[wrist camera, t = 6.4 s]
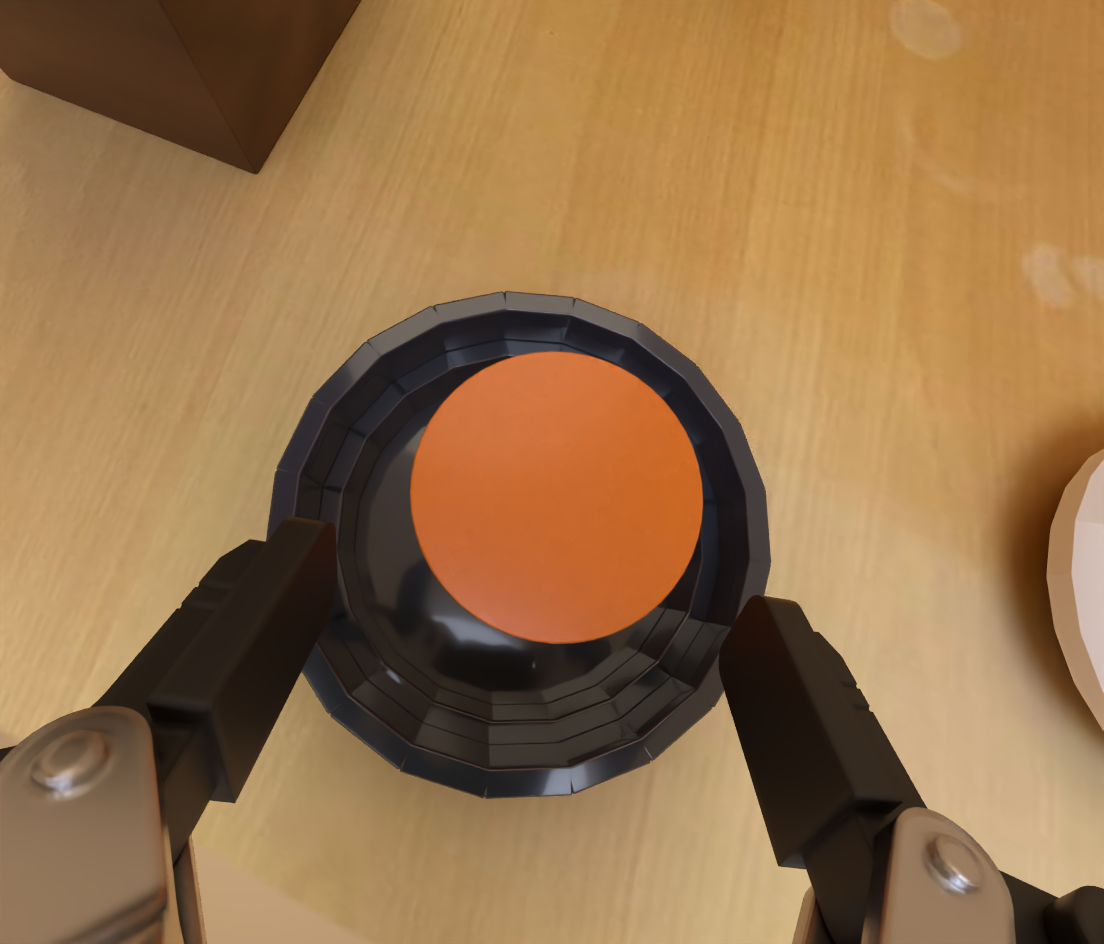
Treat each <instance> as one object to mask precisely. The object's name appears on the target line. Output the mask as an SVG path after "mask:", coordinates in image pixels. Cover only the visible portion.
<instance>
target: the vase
mask: <svg viewBox="0 0 1104 944" xmlns="http://www.w3.org/2000/svg"><path fill="white" fill-rule="evenodd" d="M1046 576H1047V583H1048V590H1049V597H1050V603H1051V610H1052V617H1053V624H1054V629H1055V632H1056V635H1057V638H1058V640H1059V643H1060V646H1061V649H1062V651H1063V654H1064V657H1065V660H1066V662H1067V665H1068V668H1069V670H1070V673H1071V676H1072V679H1073V681H1074V684H1075V685H1076V687H1077V689H1078V690H1079V692H1080V693H1081V695H1082V697H1083V698H1084V700H1085V702H1086V703H1087V705H1088V707H1089V708H1090V710H1091V712H1092V713H1093V715H1094V716H1095V718H1096V720H1097V721H1098V723H1099V725H1100V726H1101V728H1102V730H1103V731H1104V449H1102V450H1101V451H1099V452H1097V453H1096V454H1094V455H1092V456H1091V457H1089V458H1088V459H1087V461H1086V462H1085V463H1084V464H1083V466H1082V467H1081V468H1080V470H1079V471H1078V472H1077V473H1076V475H1075V476H1074V477H1073V478H1072V480H1071V481H1070V482H1069V483H1068V485H1067V486H1066V487H1065V489H1064V492H1063V495H1062V498H1061V500H1060V503H1059V506H1058V508H1057V511H1056V514H1055V517H1054V519H1053V522H1052V525H1051V528H1050V539H1049V551H1048V563H1047V575H1046Z"/></svg>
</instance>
